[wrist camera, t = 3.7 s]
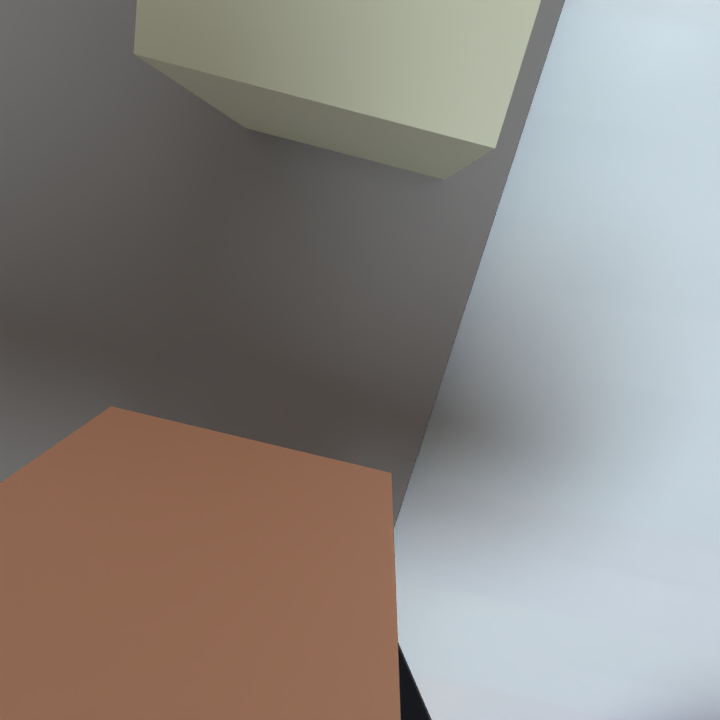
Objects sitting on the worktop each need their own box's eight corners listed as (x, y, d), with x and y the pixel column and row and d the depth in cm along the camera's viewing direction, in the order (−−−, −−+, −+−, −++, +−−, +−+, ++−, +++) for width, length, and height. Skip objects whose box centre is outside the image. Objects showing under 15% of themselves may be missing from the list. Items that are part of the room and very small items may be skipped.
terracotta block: (330, 670, 9) (275, 1154, 4) (97, 619, 9) (-216, 1060, 4) (391, 472, 8) (406, 893, 3) (111, 406, 7) (-359, 730, 3)
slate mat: (325, 728, 18) (324, 742, 17) (-193, 614, 17) (-209, 625, 17) (591, -99, 9) (602, -117, 9) (-412, -381, 9) (-457, -415, 8)
